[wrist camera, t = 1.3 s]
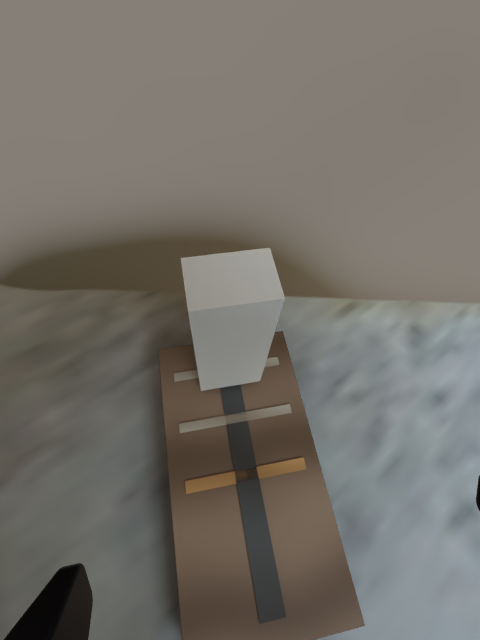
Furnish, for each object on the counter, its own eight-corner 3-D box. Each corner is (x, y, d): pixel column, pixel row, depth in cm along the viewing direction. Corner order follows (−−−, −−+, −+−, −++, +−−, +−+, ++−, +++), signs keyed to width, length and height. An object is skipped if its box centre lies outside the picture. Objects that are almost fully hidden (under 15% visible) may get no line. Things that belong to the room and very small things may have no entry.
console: (346, 611, 18) (365, 626, 15) (190, 653, 17) (185, 676, 14) (277, 347, 25) (282, 330, 22) (163, 364, 24) (158, 348, 21)
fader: (260, 381, 20) (285, 298, 12) (201, 391, 20) (187, 311, 12) (251, 344, 21) (269, 247, 14) (195, 353, 21) (180, 257, 13)
